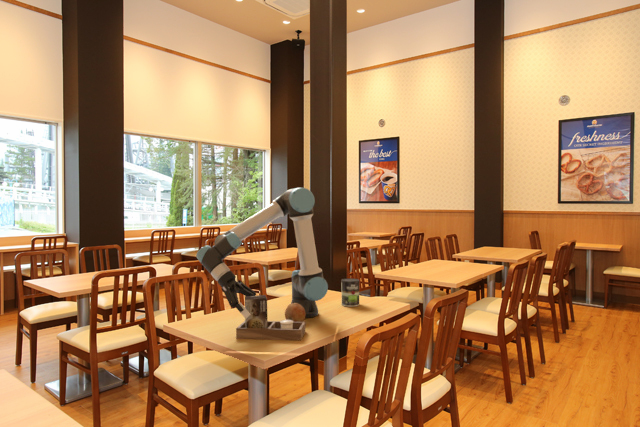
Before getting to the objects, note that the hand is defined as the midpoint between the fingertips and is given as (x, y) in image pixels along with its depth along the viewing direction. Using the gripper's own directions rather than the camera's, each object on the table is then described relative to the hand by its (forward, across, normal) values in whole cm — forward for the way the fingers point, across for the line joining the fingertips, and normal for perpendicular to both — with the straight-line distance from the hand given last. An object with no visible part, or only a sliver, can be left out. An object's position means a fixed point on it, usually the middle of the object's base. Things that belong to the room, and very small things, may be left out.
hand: (255, 312), depth 174 cm
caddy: (+12, -1, -2) cm, 12 cm away
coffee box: (+7, 0, -6) cm, 10 cm away
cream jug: (+16, -2, +3) cm, 16 cm away
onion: (+14, -22, 0) cm, 26 cm away
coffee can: (+26, -68, +12) cm, 73 cm away
